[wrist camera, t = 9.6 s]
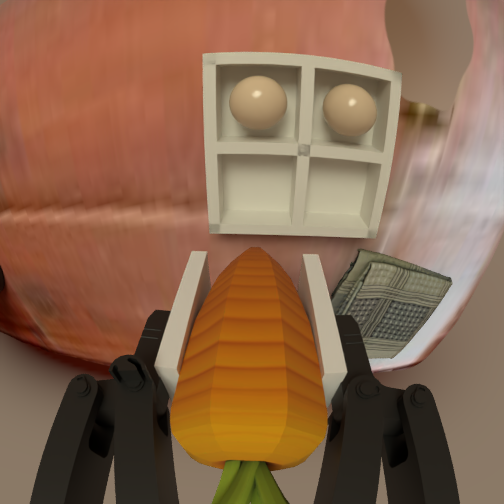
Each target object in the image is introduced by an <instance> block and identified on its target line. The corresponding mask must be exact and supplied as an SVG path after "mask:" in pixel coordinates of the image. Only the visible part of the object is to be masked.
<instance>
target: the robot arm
mask: <svg viewBox="0 0 504 504" xmlns="http://www.w3.org/2000/svg"><path fill="white" fill-rule="evenodd" d="M3 288H4V278H3V274H2V271H1V268H0V292H1V291H2V290H3ZM210 290H211V285H210V276H209V266H208V255H207V252H205V251H192V252H191V255H190V258H189V261H188V263H187V266H186V269H185V272H184V275H183V277H182V280H181V283H180V286H179V289H178V292H177V295H176V298H175V301H174V304H173V307H172V310H171V311H164V310H155V311H154V312H153V313H152V314H151V315H150V316H149V318H148V319H147V322H146V325H145V327H144V330H143V332H142V335H141V338H140V341H139V343H138V346H137V349H136V352H135V354H134V355H124V356H120V357H119V358H117V359H115V360H114V362H113V363H112V364H111V366H110V369H109V372H110V374H111V375H112V376H113V378H114V379H110V380H100V381H96V380H95V379H94V377H92V376H90V375H88V374H81V375H77V376H76V377H75V378H73V379H72V380H71V382H70V383H69V385H68V388H67V390H66V392H65V395H64V397H63V400H62V402H61V405H60V407H59V410H58V412H57V415H56V417H55V420H54V423H53V426H52V429H51V431H50V434H49V437H48V440H47V443H46V446H45V449H44V452H43V455H42V459H41V462H40V466H39V469H38V473H37V476H36V480H35V484H34V488H33V492H32V496H31V501H30V504H103V500H104V495H105V490H106V486H107V481H108V476H109V472H110V468H111V464H112V460H113V456H114V472H115V493H116V504H179V500H178V493H177V485H176V478H175V471H174V461H173V451H172V441H171V428H170V413H169V409H168V407H167V404H168V400H169V398H170V399H171V401H172V402H173V398H174V394H175V390H176V386H177V382H178V378H179V374H180V370H181V366H182V362H183V358H184V355H185V352H186V349H187V345H188V342H189V339H190V336H191V332H192V329H193V326H194V323H195V320H196V318H197V316H198V314H199V312H200V310H201V307H202V305H203V303H204V301H205V299H206V297H207V295H208V294H209V292H210ZM297 293H298V295H299V297H300V300H301V302H302V305H303V307H304V310H305V312H306V315H307V317H308V320H309V322H310V325H311V330H312V334H313V338H314V343H315V347H316V352H317V356H318V361H319V366H320V371H321V378H322V383H323V389H324V395H325V401H326V407H329V405H330V403H332V410H333V412H332V413H331V415H330V416H329V418H328V419H327V425H328V424H329V427H328V434H327V440H326V446H325V452H324V458H323V463H322V468H321V473H320V478H319V482H318V487H317V492H316V496H315V500H314V504H376V498H377V491H378V483H379V475H380V465H381V457H382V462H383V469H384V475H385V482H386V488H387V496H388V504H460V501H459V495H458V489H457V483H456V479H455V474H454V469H453V464H452V460H451V456H450V452H449V448H448V444H447V440H446V437H445V433H444V429H443V426H442V423H441V419H440V416H439V413H438V410H437V407H436V403H435V400H434V397H433V395H432V393H431V391H430V390H429V389H428V388H427V387H426V386H424V385H421V384H413V385H411V386H409V387H408V388H407V389H406V390H401V389H396V388H390V387H386V386H384V385H382V384H381V383H380V382H379V381H378V380H377V379H376V378H375V377H374V376H373V373H372V371H371V367H370V363H369V360H368V356H367V352H366V349H365V345H364V344H363V338H362V336H361V332H360V328H359V325H358V323H357V322H356V320H355V319H354V318H353V317H352V316H351V315H334V311H333V307H332V304H331V300H330V296H329V292H328V288H327V284H326V281H325V277H324V273H323V270H322V266H321V262H320V259H319V255H318V254H303V257H302V264H301V271H300V278H299V285H298V292H297Z"/></svg>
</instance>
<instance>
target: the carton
mask: <svg viewBox="0 0 504 504" xmlns="http://www.w3.org/2000/svg"><path fill="white" fill-rule="evenodd" d="M251 76H266V77H269V78H271V79H273V80H275V81H276V82H278V83H279V84H280V85H281V86H282V88H283V89H284V91H285V93H286V96H287V110H286V113H285V115H284V116H283V118H282V119H281V120H280V121H279V122H278V123H277V124H276V125H274V126H273V127H270V128H267V129H263V130H254V129H249V128H246V127H244V126H243V125H241V124H240V123H238V122H237V121H236V120H235V118H234V117H233V115H232V113H231V111H230V107H229V98H230V94H231V92H232V90H233V88H234V87H235V86H236V85H237V84H238V83H239V82H240V81H241V80H243V79H245V78H247V77H251ZM401 81H402V73H400V72H396V71H392V70H389V69H385V68H381V67H376V66H372V65H367V64H363V63H358V62H352V61H347V60H341V59H334V58H328V57H320V56H312V55H302V54H290V53H272V52H224V53H207V54H203V111H204V142H205V165H206V184H207V201H208V216H209V230H210V233H218V234H263V235H298V236H328V237H353V238H376V235H377V231H378V227H379V223H380V218H381V214H382V210H383V205H384V201H385V196H386V191H387V186H388V181H389V176H390V171H391V165H392V159H393V153H394V146H395V140H396V132H397V124H398V116H399V107H400V96H401ZM342 84H353V85H357V86H359V87H361V88H363V89H364V90H366V91H367V92H368V93H369V94H370V95H371V96H372V98H373V99H374V101H375V104H376V107H377V118H376V121H375V124H374V125H373V127H372V128H371V129H370V130H369V131H368V132H366V133H365V134H363V135H360V136H355V137H349V136H344V135H341V134H339V133H337V132H336V131H334V130H333V129H332V128H331V127H330V126H329V125H328V124H327V122H326V120H325V118H324V115H323V110H322V106H323V101H324V98H325V96H326V94H327V93H328V92H329V91H330V90H331V89H332V88H334V87H336V86H338V85H342Z"/></svg>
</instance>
